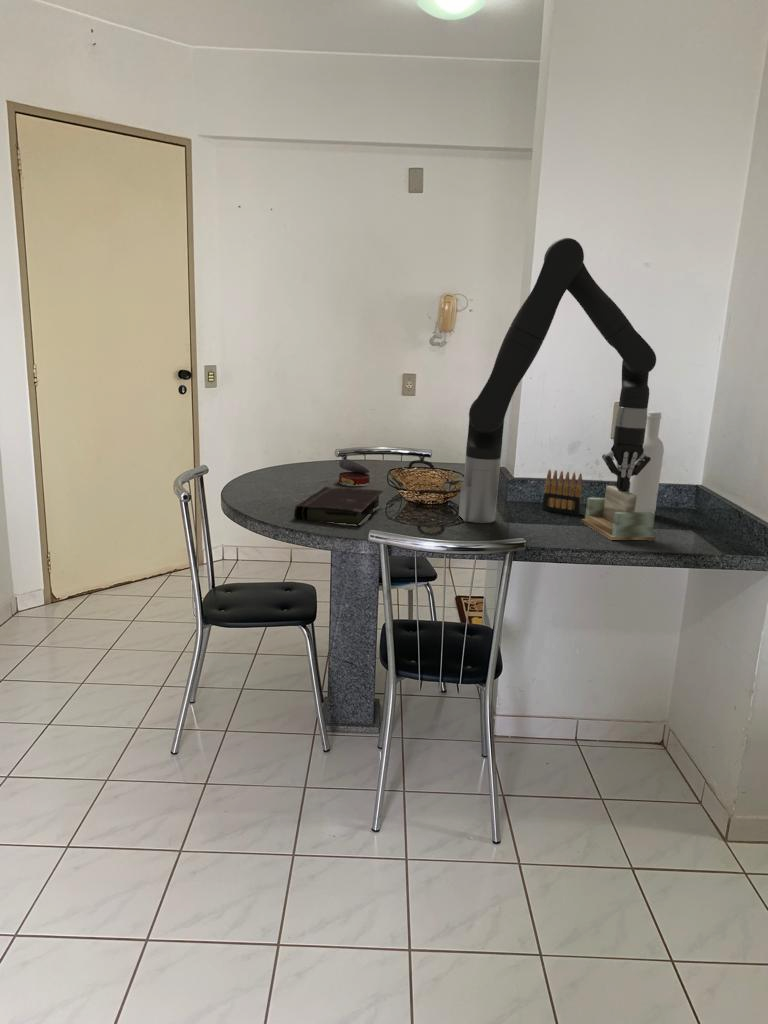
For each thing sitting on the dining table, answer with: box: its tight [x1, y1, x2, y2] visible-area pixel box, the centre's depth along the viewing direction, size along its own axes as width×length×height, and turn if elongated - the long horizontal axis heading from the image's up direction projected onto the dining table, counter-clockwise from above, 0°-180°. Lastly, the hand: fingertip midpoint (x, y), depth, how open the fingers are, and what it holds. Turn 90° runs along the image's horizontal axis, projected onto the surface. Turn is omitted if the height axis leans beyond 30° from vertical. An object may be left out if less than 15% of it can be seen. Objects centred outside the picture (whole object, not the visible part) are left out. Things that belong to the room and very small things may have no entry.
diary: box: [293, 486, 384, 527], centre depth 203 cm, size 19×25×5 cm
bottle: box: [628, 410, 665, 515], centre depth 218 cm, size 8×8×30 cm
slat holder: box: [580, 497, 656, 541], centre depth 200 cm, size 12×18×7 cm, turn 10°
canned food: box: [338, 458, 371, 485], centre depth 241 cm, size 11×10×10 cm
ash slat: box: [602, 485, 637, 524], centre depth 199 cm, size 2×12×10 cm, turn 10°
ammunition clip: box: [541, 468, 583, 516], centre depth 218 cm, size 11×2×12 cm, turn 67°
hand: (622, 490), depth 198 cm, fingers closed
